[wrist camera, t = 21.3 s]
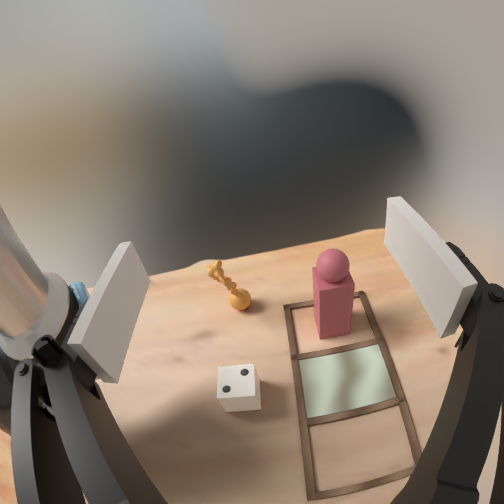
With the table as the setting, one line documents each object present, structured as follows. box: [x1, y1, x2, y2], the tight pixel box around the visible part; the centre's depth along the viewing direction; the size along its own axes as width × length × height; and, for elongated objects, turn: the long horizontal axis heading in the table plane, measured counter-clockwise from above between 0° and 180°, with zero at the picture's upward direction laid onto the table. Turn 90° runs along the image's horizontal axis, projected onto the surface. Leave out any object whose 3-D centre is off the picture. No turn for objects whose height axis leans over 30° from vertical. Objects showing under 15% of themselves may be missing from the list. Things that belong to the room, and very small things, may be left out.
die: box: [217, 363, 261, 412], centre depth 35 cm, size 5×5×5 cm
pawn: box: [312, 249, 355, 339], centre depth 40 cm, size 5×5×15 cm
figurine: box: [207, 260, 251, 310], centre depth 48 cm, size 8×6×12 cm
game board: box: [284, 291, 421, 501], centre depth 35 cm, size 15×34×1 cm, turn 1°
